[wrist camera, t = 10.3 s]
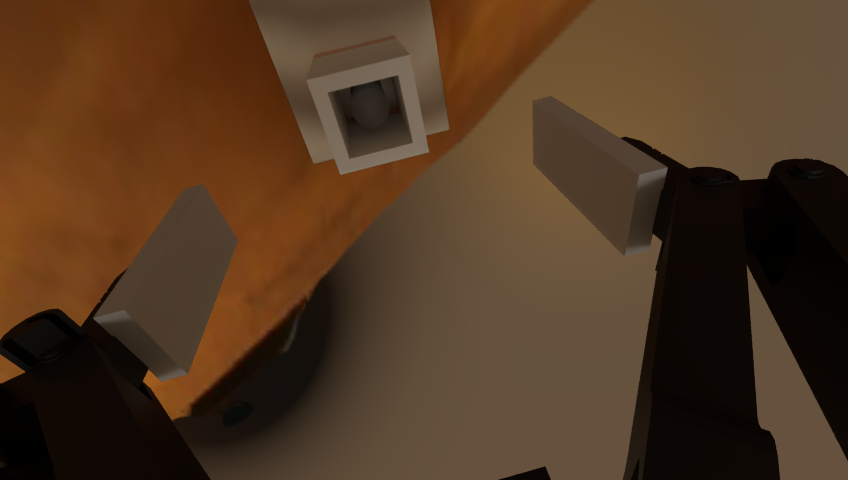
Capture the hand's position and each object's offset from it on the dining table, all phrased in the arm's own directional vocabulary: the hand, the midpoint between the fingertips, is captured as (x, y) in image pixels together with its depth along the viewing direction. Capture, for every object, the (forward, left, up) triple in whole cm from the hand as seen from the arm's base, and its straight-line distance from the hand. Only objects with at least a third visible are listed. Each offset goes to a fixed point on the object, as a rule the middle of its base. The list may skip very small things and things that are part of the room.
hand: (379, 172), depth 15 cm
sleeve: (+1, 0, -17) cm, 17 cm away
